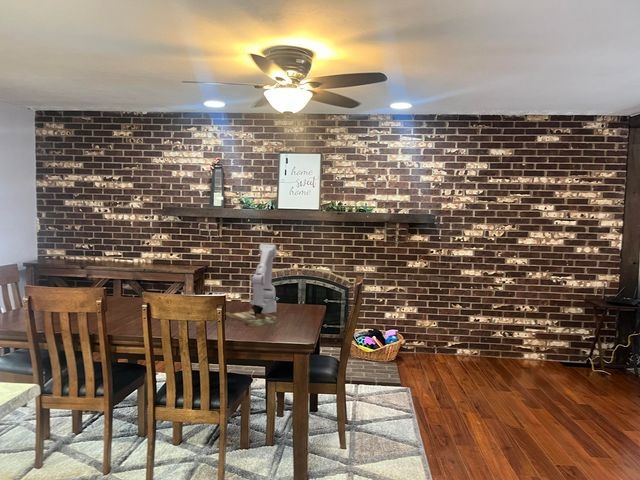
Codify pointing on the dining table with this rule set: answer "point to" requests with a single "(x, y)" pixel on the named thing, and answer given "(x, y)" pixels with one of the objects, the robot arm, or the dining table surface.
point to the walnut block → (260, 316)
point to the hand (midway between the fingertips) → (257, 318)
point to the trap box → (253, 318)
